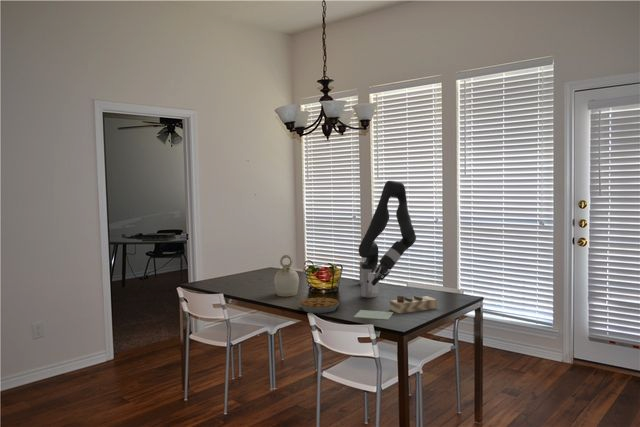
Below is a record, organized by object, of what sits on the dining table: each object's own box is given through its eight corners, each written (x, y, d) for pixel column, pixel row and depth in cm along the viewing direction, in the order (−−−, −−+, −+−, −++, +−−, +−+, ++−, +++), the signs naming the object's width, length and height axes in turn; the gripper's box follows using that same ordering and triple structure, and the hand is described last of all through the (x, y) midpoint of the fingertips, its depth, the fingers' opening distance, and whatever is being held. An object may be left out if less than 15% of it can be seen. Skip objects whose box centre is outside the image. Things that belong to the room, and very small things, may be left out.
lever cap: (372, 293, 261) (372, 274, 261) (368, 291, 266) (368, 272, 265) (379, 292, 263) (378, 273, 262) (375, 290, 267) (374, 272, 267)
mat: (353, 317, 261) (353, 316, 261) (360, 310, 275) (360, 310, 275) (388, 319, 256) (388, 319, 256) (393, 312, 269) (393, 312, 269)
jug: (295, 297, 308) (295, 257, 307) (271, 296, 311) (270, 256, 310) (301, 292, 323) (301, 253, 322) (278, 291, 326) (277, 253, 325)
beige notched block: (398, 313, 268) (398, 298, 267) (390, 309, 276) (389, 295, 275) (436, 308, 277) (436, 293, 276) (427, 304, 285) (427, 290, 285)
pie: (337, 303, 292) (337, 295, 292) (340, 313, 270) (340, 304, 270) (300, 304, 291) (299, 296, 291) (299, 314, 270) (299, 305, 269)
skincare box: (362, 285, 340) (362, 262, 339) (359, 283, 347) (358, 260, 346) (374, 284, 343) (374, 261, 342) (370, 282, 349) (370, 259, 348)
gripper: (379, 252, 273) (359, 277, 269) (392, 255, 259) (372, 281, 255) (387, 261, 275) (368, 285, 271) (401, 265, 262) (381, 290, 258)
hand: (370, 283), depth 263 cm, fingers closed on lever cap, 4 cm apart
